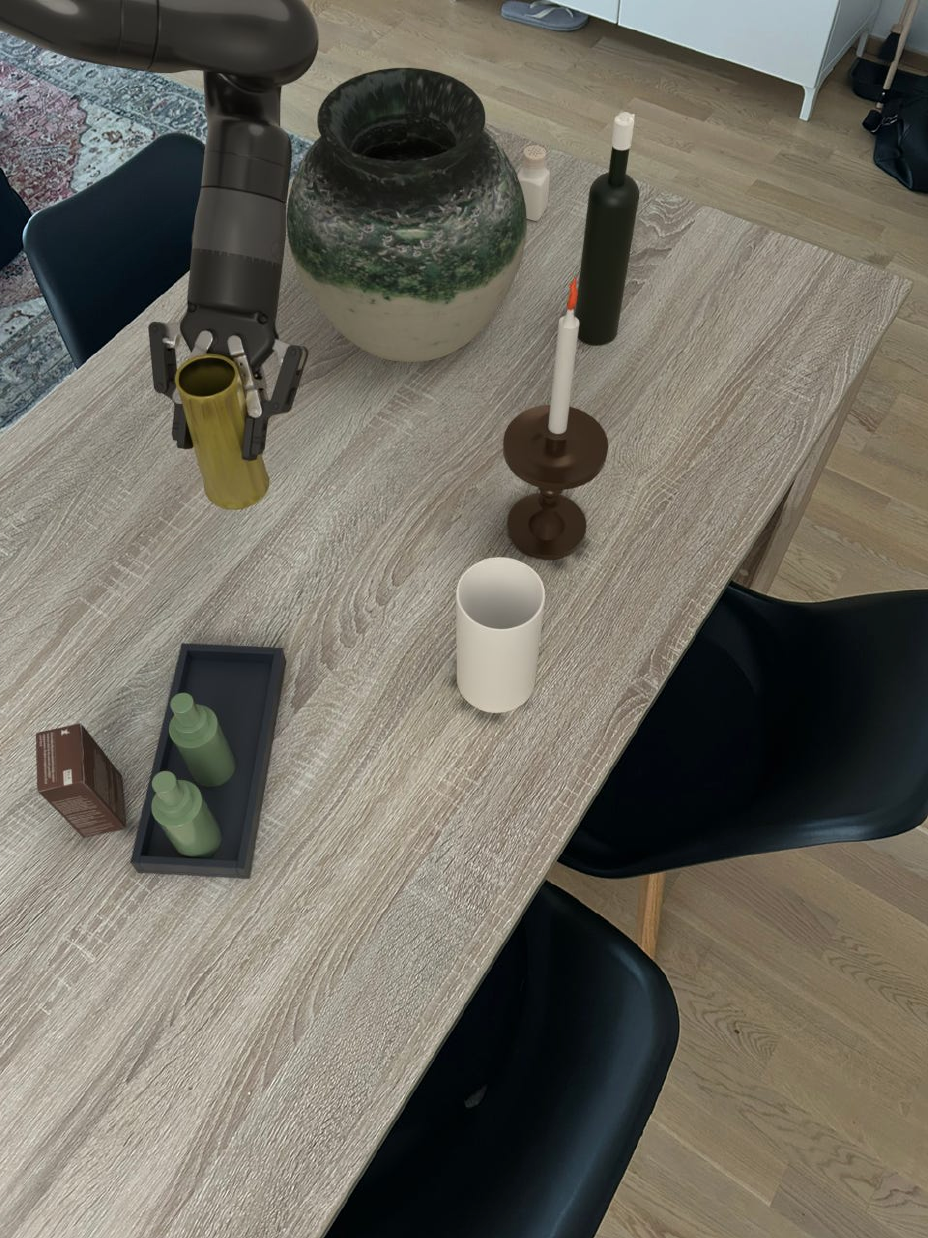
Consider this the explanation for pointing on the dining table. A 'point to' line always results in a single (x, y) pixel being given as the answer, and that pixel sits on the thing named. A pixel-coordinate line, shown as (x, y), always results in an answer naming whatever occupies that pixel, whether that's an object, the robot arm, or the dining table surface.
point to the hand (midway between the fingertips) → (216, 453)
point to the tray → (247, 713)
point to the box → (79, 780)
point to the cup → (498, 633)
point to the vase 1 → (220, 431)
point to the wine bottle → (607, 242)
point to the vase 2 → (406, 215)
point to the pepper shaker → (534, 181)
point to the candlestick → (554, 458)
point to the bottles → (208, 765)
